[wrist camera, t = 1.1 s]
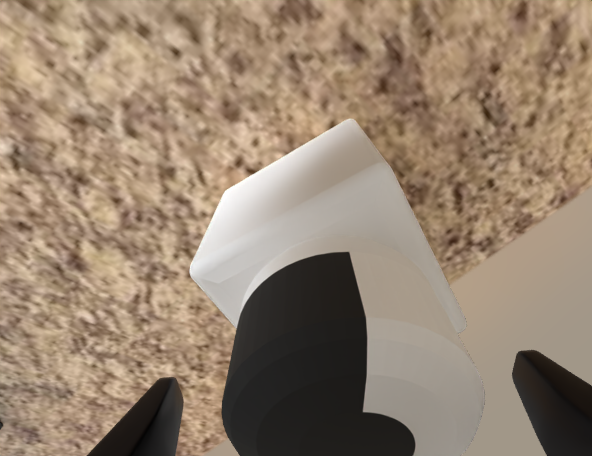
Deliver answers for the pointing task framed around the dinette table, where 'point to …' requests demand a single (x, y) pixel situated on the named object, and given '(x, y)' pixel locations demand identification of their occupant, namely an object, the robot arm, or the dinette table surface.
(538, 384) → the robot arm
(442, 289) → the medicine bottle
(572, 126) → the dinette table surface
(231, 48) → the dinette table surface
